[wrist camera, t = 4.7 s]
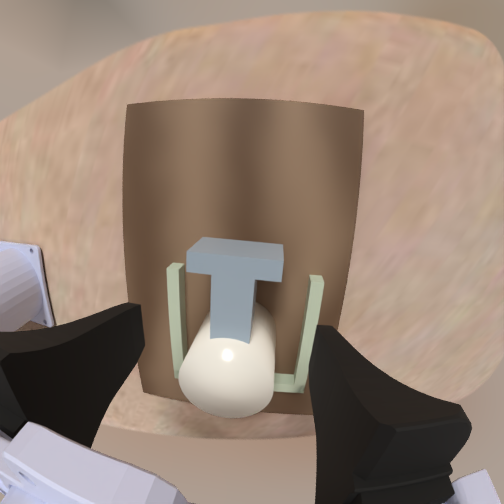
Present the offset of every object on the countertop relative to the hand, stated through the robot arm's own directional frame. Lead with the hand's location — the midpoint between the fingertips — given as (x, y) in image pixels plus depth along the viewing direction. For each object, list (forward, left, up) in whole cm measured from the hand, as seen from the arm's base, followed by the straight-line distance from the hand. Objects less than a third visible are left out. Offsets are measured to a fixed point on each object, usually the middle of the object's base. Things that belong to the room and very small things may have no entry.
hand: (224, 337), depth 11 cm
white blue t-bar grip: (0, -2, -8) cm, 8 cm away
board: (-1, -1, -8) cm, 8 cm away
